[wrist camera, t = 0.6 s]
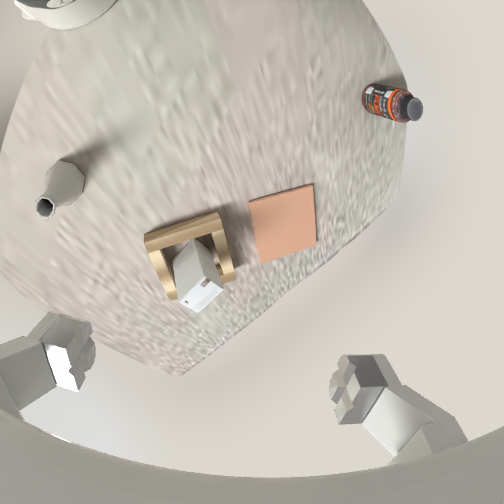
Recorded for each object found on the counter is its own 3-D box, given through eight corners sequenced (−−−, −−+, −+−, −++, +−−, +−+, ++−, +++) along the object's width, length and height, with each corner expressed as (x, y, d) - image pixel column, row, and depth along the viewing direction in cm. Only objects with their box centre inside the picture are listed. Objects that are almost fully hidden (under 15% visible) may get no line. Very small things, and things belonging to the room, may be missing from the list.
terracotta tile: (248, 201, 50) (249, 203, 49) (310, 184, 52) (312, 185, 51) (259, 261, 58) (260, 263, 57) (314, 242, 59) (316, 244, 59)
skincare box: (188, 270, 54) (199, 316, 44) (170, 258, 51) (176, 303, 42) (211, 248, 53) (226, 290, 43) (193, 234, 50) (204, 276, 41)
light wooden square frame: (144, 234, 47) (143, 243, 45) (217, 210, 49) (220, 218, 47) (168, 290, 55) (170, 300, 53) (232, 270, 57) (236, 279, 54)
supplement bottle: (355, 91, 44) (399, 99, 35) (377, 79, 44) (421, 86, 35) (367, 118, 48) (409, 132, 39) (387, 106, 47) (430, 118, 38)
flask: (57, 152, 35) (34, 171, 27) (92, 174, 39) (78, 198, 31) (38, 190, 37) (15, 217, 29) (72, 211, 41) (56, 241, 33)
